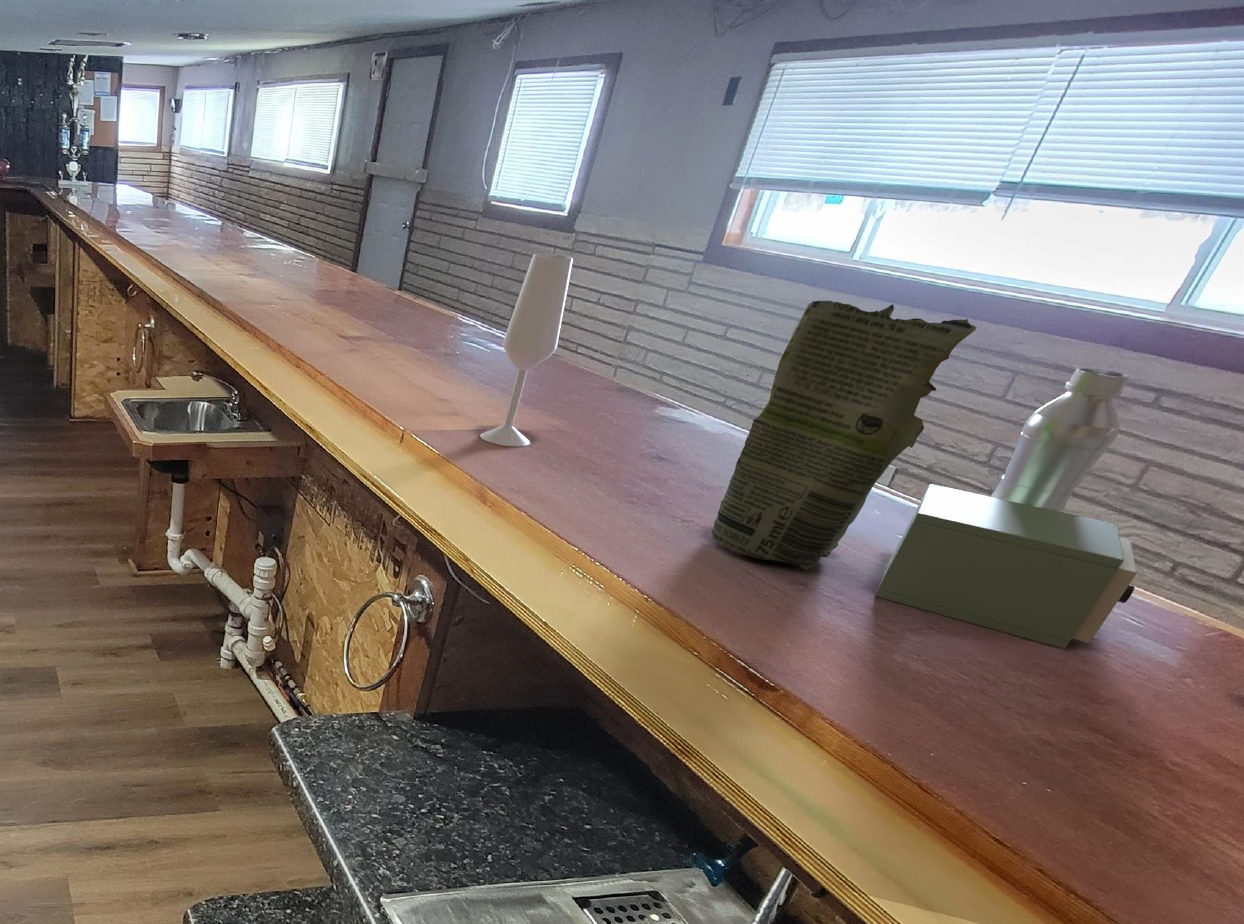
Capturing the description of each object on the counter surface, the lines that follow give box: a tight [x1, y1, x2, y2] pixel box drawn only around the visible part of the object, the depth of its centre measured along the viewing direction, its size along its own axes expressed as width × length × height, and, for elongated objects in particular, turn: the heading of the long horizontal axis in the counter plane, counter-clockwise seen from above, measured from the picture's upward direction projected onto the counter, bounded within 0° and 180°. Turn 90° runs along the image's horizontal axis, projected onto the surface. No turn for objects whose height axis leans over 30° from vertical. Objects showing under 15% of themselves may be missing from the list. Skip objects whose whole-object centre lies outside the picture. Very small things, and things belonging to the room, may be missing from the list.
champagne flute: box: [479, 253, 574, 447], centre depth 120 cm, size 7×7×24 cm
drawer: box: [1071, 536, 1138, 644], centre depth 82 cm, size 14×10×7 cm
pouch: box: [710, 300, 977, 571], centre depth 87 cm, size 11×12×25 cm
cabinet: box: [874, 483, 1124, 650], centre depth 83 cm, size 14×12×9 cm
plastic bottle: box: [989, 367, 1130, 512], centre depth 88 cm, size 6×7×20 cm
